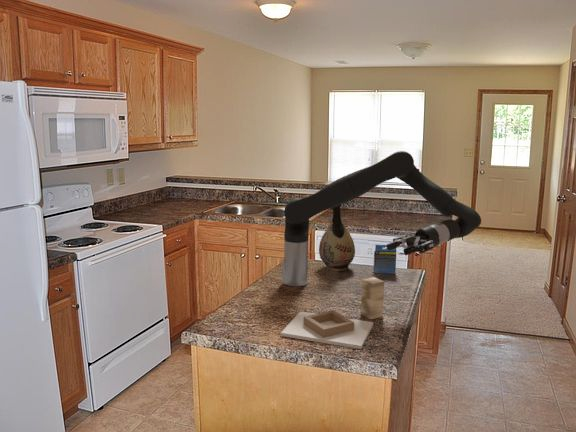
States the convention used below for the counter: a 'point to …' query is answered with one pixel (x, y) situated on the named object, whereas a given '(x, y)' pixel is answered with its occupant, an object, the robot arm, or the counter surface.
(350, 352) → the counter surface
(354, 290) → the counter surface
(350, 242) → the ceramic jug
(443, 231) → the robot arm
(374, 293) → the maple peg
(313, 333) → the socket board
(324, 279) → the counter surface
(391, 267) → the label tape cartridge
